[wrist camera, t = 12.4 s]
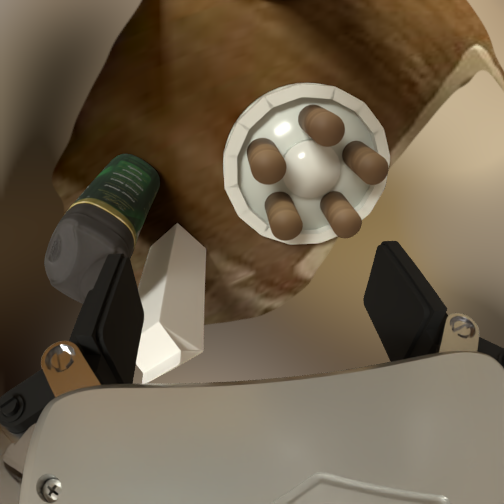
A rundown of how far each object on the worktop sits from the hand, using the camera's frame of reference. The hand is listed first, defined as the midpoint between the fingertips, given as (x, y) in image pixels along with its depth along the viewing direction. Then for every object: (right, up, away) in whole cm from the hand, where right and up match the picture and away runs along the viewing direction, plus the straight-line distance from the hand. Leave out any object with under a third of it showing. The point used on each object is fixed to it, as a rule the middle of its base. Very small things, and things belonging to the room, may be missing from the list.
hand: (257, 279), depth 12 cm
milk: (-11, +2, +35) cm, 36 cm away
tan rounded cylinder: (+7, +17, +25) cm, 31 cm away
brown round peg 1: (+11, +8, +32) cm, 34 cm away
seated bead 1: (+3, +7, +31) cm, 32 cm away
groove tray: (+7, +12, +29) cm, 32 cm away
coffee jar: (-17, +10, +28) cm, 34 cm away
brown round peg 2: (+13, +14, +28) cm, 34 cm away
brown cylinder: (+1, +13, +27) cm, 30 cm away
